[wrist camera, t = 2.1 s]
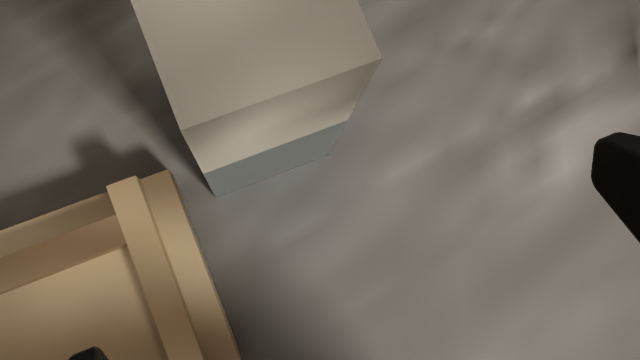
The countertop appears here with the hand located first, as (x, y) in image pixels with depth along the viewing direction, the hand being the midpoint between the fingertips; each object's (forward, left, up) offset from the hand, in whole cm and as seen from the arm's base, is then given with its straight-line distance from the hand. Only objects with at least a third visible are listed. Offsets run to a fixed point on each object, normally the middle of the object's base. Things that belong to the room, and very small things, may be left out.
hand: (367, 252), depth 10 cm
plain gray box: (+5, +3, -12) cm, 13 cm away
